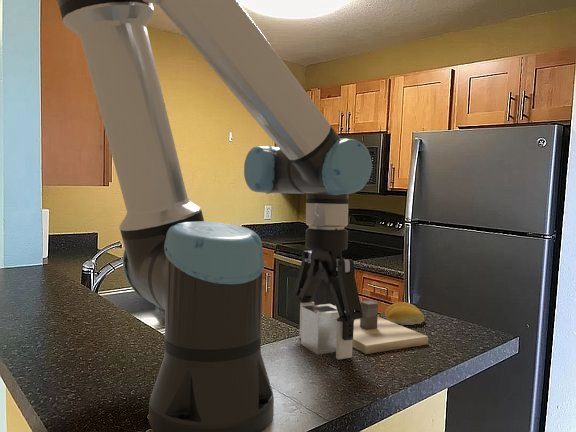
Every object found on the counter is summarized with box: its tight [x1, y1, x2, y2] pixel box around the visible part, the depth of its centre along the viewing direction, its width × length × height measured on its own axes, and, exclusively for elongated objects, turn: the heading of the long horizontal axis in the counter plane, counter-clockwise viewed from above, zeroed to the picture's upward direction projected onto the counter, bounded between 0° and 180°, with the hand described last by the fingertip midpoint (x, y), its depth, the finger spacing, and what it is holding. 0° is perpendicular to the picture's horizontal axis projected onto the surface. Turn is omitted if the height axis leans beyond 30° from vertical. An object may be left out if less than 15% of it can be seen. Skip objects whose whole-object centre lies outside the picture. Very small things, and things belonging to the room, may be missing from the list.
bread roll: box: [384, 301, 425, 326], centre depth 105 cm, size 8×9×4 cm
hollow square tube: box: [300, 303, 340, 355], centre depth 85 cm, size 6×6×7 cm
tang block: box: [352, 300, 429, 355], centre depth 93 cm, size 18×14×6 cm
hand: (324, 346), depth 85 cm, fingers open, 12 cm apart
